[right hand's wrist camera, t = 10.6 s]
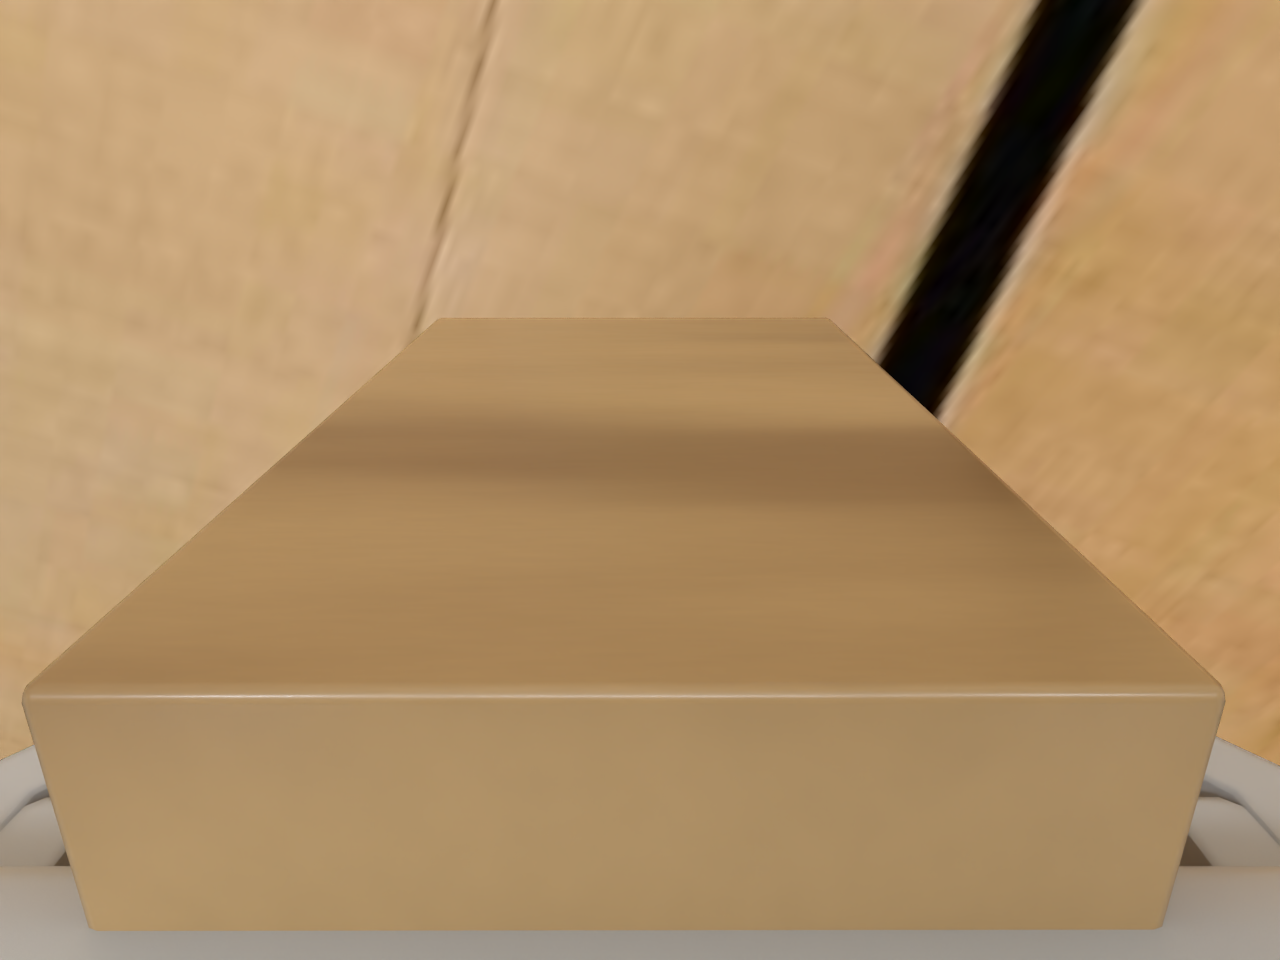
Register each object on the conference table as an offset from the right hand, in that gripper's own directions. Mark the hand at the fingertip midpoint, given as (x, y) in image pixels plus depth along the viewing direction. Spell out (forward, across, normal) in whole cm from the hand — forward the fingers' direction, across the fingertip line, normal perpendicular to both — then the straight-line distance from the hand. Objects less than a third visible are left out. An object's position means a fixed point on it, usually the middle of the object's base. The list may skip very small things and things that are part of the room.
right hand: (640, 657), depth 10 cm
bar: (+4, 0, -10) cm, 11 cm away
